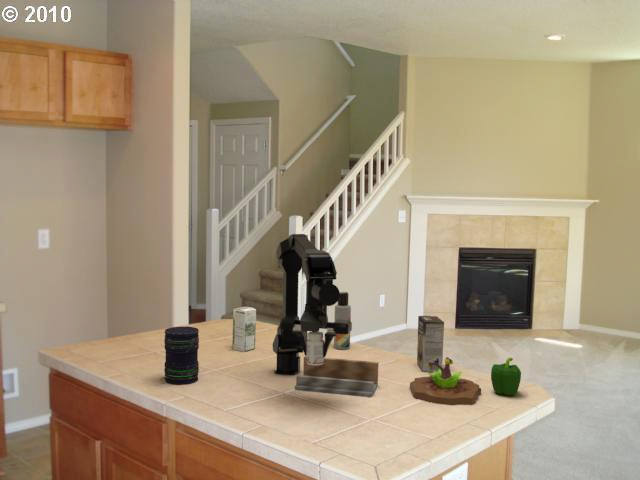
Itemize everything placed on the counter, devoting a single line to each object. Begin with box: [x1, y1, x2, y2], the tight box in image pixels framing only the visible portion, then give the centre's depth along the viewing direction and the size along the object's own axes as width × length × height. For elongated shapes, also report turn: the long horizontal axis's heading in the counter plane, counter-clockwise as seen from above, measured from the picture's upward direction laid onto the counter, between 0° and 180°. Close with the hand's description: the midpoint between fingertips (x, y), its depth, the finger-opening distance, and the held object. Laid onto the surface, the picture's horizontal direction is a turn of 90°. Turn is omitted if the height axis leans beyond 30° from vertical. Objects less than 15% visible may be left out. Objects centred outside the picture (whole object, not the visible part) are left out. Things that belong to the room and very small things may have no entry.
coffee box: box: [416, 315, 445, 373], centre depth 219 cm, size 9×6×16 cm
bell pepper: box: [490, 357, 522, 397], centre depth 194 cm, size 8×8×10 cm
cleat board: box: [294, 355, 379, 398], centre depth 196 cm, size 22×11×7 cm, turn 77°
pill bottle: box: [306, 331, 325, 366], centre depth 185 cm, size 5×5×8 cm
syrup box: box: [232, 306, 257, 353], centre depth 237 cm, size 6×6×14 cm
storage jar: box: [163, 326, 200, 386], centre depth 200 cm, size 10×10×15 cm
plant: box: [409, 356, 482, 406], centre depth 193 cm, size 20×20×11 cm
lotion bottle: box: [333, 291, 352, 350], centre depth 243 cm, size 6×6×20 cm
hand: (315, 356), depth 185 cm, fingers closed on pill bottle, 5 cm apart
